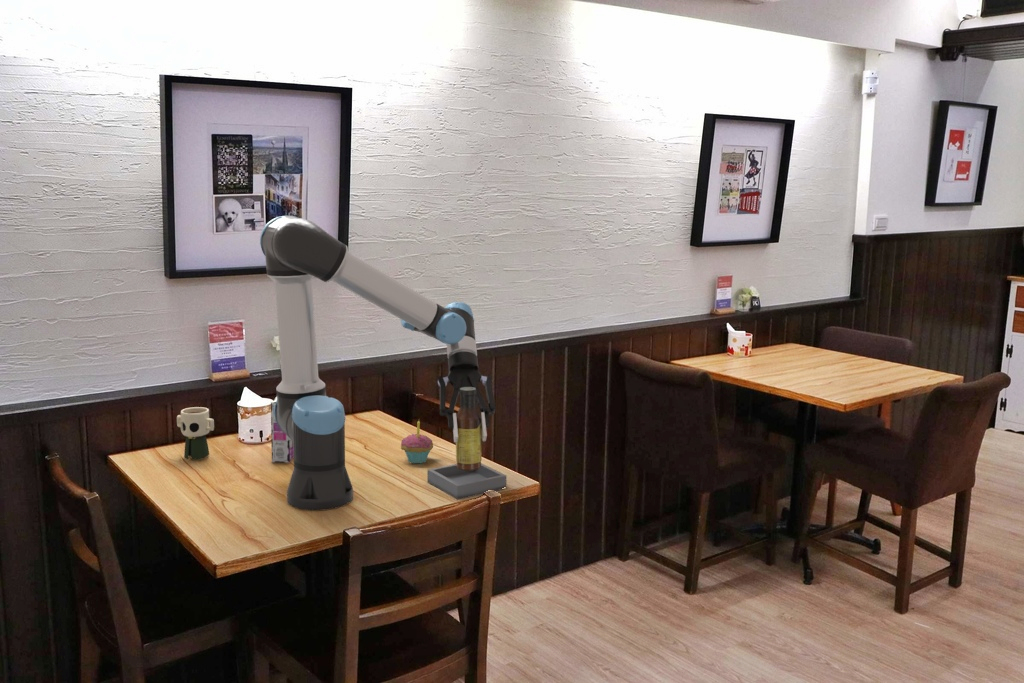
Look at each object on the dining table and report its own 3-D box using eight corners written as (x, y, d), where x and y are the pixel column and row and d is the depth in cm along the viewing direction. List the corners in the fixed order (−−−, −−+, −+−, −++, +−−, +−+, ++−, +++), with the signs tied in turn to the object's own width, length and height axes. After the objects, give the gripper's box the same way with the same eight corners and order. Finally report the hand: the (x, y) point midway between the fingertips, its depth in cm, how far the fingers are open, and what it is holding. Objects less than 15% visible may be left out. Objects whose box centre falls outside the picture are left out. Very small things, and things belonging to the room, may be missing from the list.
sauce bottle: (486, 469, 224) (487, 390, 221) (464, 473, 221) (465, 393, 217) (472, 461, 230) (473, 384, 226) (450, 465, 226) (451, 387, 222)
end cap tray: (457, 499, 216) (457, 486, 216) (427, 482, 228) (427, 469, 227) (506, 488, 224) (506, 475, 224) (475, 472, 236) (475, 460, 235)
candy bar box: (290, 463, 239) (289, 402, 236) (271, 463, 239) (269, 402, 236) (299, 450, 250) (297, 392, 247) (280, 450, 250) (279, 391, 247)
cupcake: (436, 464, 241) (437, 420, 239) (405, 467, 238) (405, 422, 236) (427, 454, 249) (427, 411, 247) (397, 457, 246) (396, 414, 244)
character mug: (170, 460, 240) (168, 411, 238) (187, 452, 247) (184, 405, 244) (207, 464, 237) (205, 415, 235) (222, 456, 244) (220, 408, 242)
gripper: (498, 365, 238) (507, 444, 225) (423, 366, 234) (429, 447, 222) (501, 349, 231) (512, 430, 219) (425, 350, 228) (431, 432, 215)
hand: (470, 438), depth 220 cm, fingers closed on sauce bottle, 6 cm apart
